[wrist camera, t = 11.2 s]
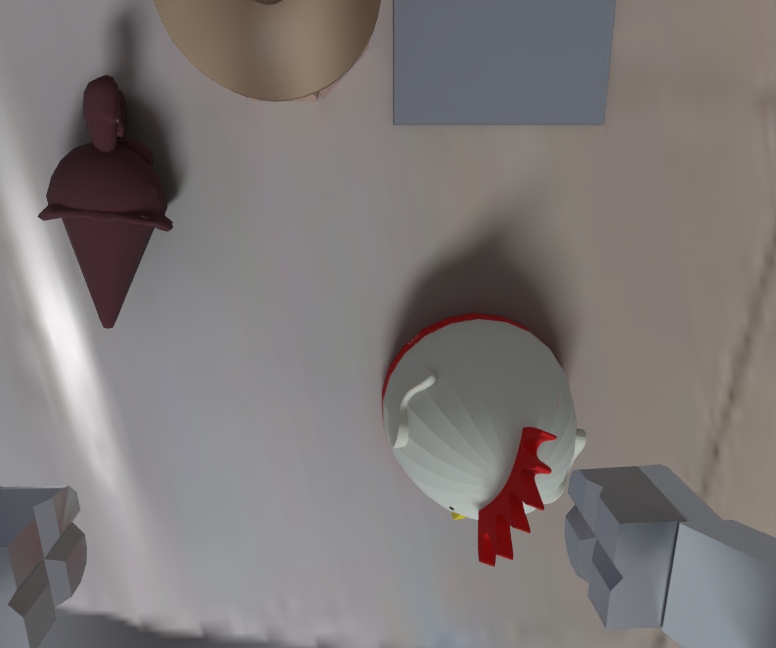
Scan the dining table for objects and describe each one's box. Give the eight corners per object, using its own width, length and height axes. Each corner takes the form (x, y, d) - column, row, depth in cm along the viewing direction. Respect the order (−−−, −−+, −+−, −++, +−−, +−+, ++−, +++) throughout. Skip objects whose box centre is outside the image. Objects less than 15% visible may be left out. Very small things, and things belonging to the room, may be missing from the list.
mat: (619, -82, 34) (624, -86, 34) (600, 124, 38) (603, 124, 37) (393, -86, 34) (393, -90, 33) (393, 125, 37) (394, 124, 37)
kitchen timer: (353, 444, 44) (351, 583, 29) (427, 284, 40) (466, 352, 26) (510, 501, 46) (581, 657, 31) (592, 355, 43) (712, 453, 28)
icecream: (166, 343, 34) (175, 81, 31) (25, 339, 31) (21, 55, 29) (172, 320, 40) (179, 101, 38) (55, 315, 38) (54, 81, 35)
